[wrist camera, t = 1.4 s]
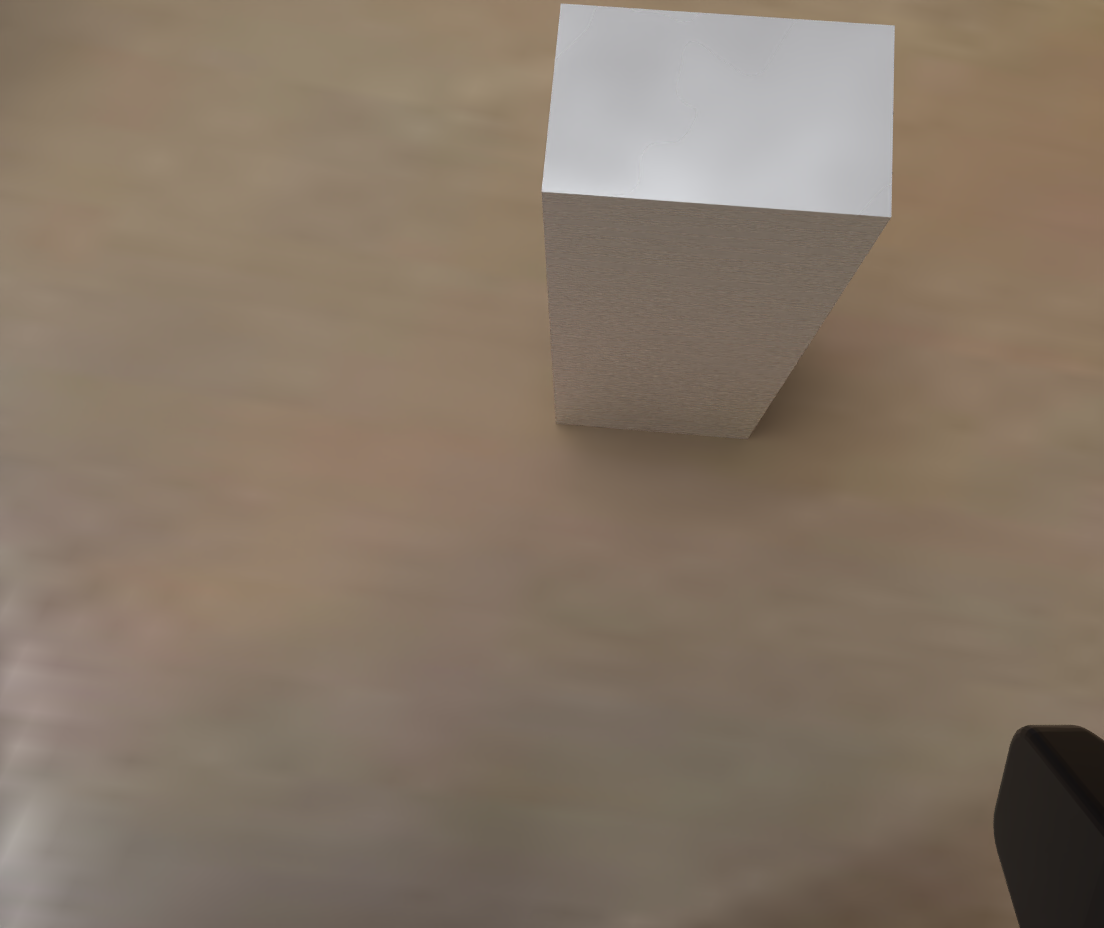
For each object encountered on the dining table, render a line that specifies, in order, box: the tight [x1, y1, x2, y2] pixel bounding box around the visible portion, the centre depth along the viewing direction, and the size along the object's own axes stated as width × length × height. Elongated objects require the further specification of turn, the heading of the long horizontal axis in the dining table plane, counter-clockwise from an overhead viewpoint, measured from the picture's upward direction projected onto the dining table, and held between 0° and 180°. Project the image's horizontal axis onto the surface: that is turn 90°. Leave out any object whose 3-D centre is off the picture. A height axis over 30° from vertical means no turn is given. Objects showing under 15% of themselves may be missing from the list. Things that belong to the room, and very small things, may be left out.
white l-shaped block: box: [542, 4, 895, 439], centre depth 18 cm, size 7×4×10 cm, turn 174°
